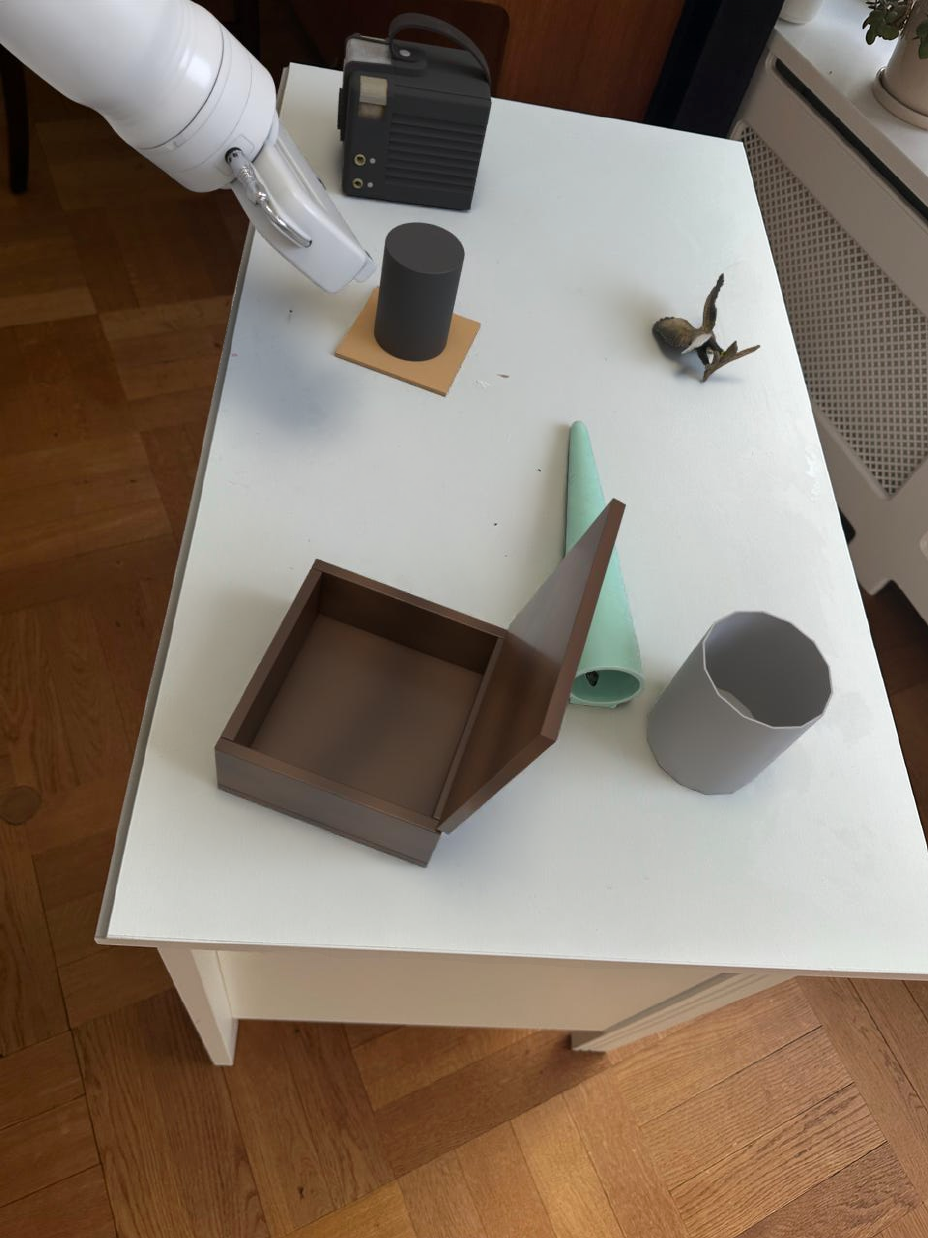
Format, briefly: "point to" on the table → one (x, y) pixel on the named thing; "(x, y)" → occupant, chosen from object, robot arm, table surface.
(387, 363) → the cork mat
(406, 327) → the dark grey cylinder
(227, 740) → the chest
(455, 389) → the table surface
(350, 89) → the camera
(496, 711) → the chest lid
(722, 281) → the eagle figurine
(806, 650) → the cup
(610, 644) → the mint green cone
